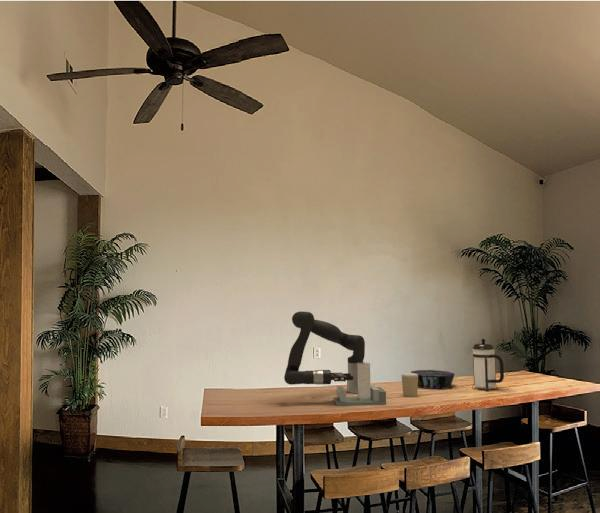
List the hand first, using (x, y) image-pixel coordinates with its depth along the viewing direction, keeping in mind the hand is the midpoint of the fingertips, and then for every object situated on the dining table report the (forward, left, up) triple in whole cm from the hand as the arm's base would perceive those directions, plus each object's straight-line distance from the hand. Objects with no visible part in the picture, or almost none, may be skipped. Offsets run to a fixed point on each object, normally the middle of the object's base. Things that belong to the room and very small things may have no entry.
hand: (351, 376), depth 278 cm
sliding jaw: (-3, -5, -12) cm, 13 cm away
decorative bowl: (-9, +71, -14) cm, 73 cm away
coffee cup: (+5, +38, -14) cm, 41 cm away
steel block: (+3, +6, -12) cm, 14 cm away
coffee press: (+19, +88, -14) cm, 91 cm away
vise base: (+2, +3, -13) cm, 14 cm away
